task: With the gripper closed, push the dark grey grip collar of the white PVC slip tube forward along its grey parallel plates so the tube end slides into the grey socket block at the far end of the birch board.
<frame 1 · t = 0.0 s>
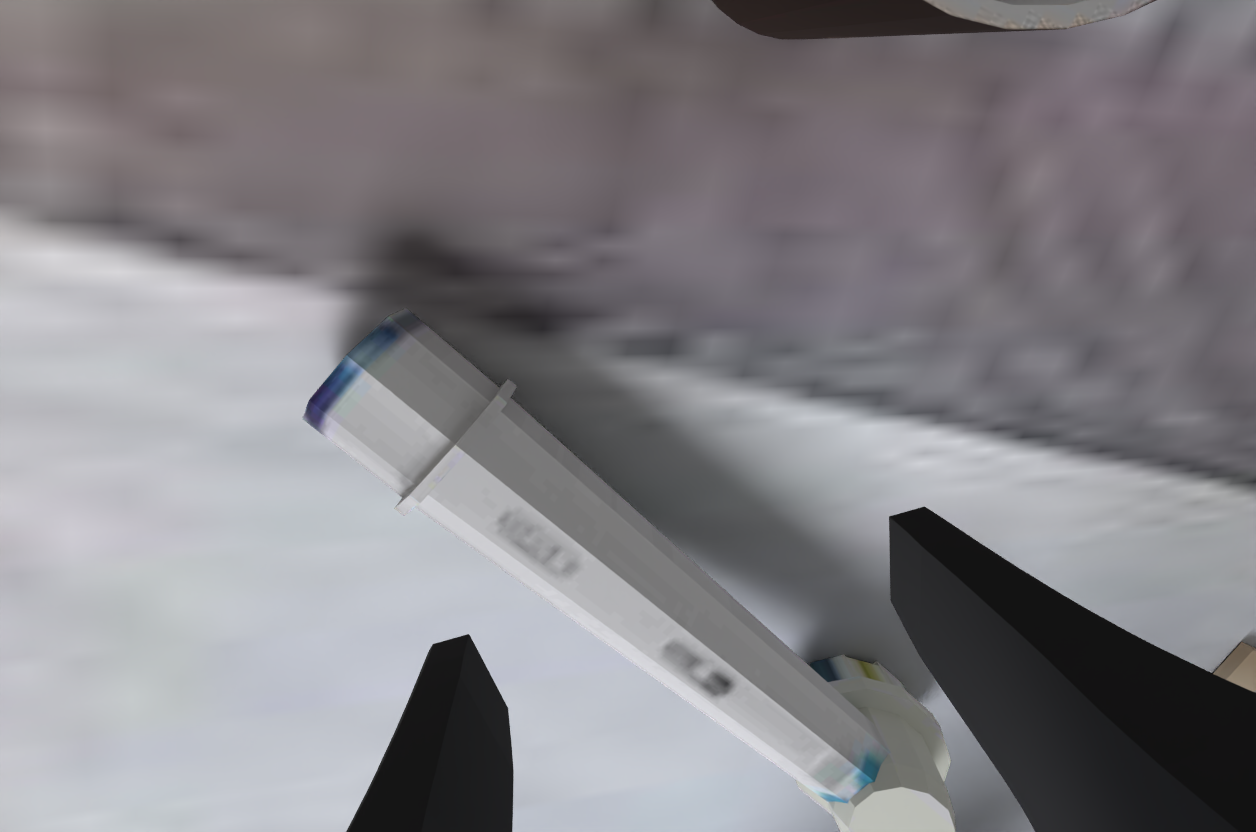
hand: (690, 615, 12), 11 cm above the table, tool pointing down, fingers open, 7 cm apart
grey capped rod: (668, 566, 24), on the table
board: (1179, 817, 32), on the table
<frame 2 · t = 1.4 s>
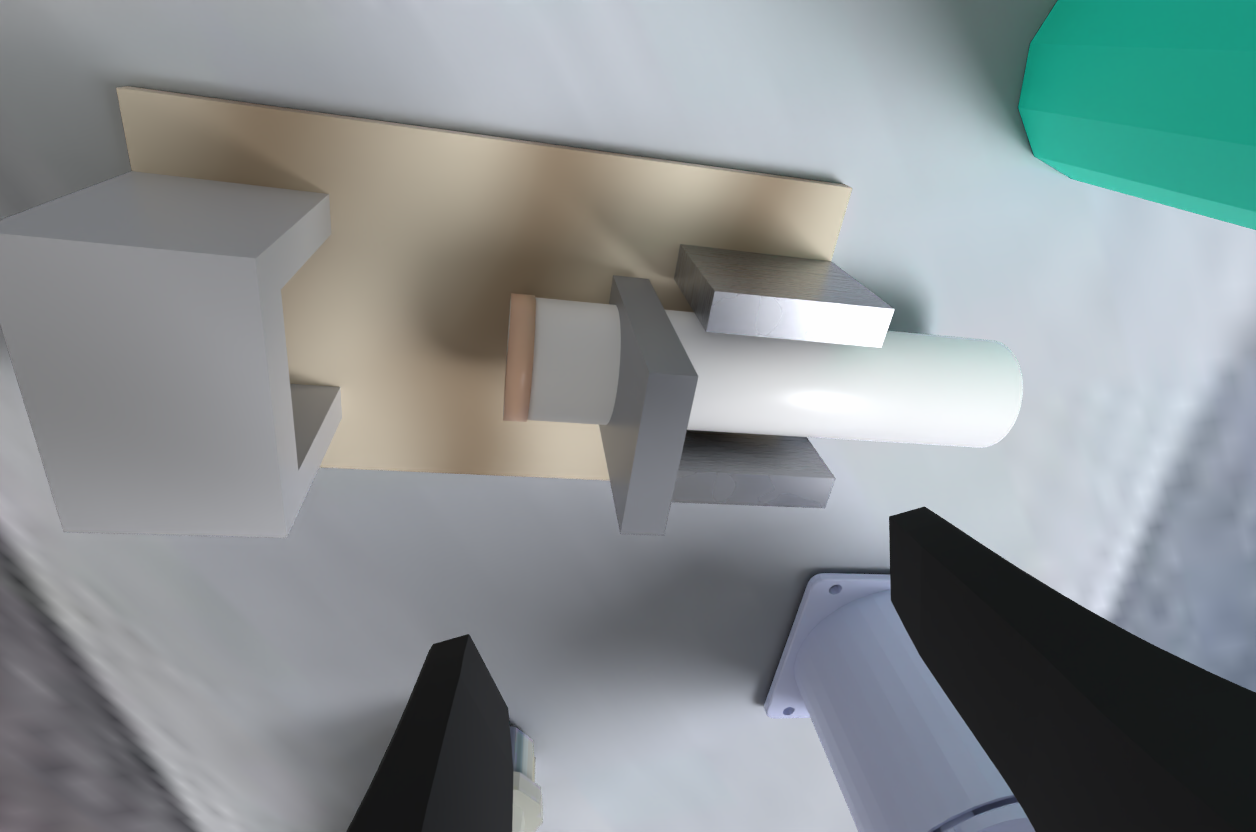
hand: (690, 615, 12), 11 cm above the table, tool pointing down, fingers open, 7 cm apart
slip tube: (778, 401, 18), point 4 cm above the table, slide at 0.0 cm
grey parallel plates: (729, 342, 21), resting on board
candle: (1118, 65, 19), on the table
socket: (254, 300, 19), resting on board
board: (508, 322, 20), on the table
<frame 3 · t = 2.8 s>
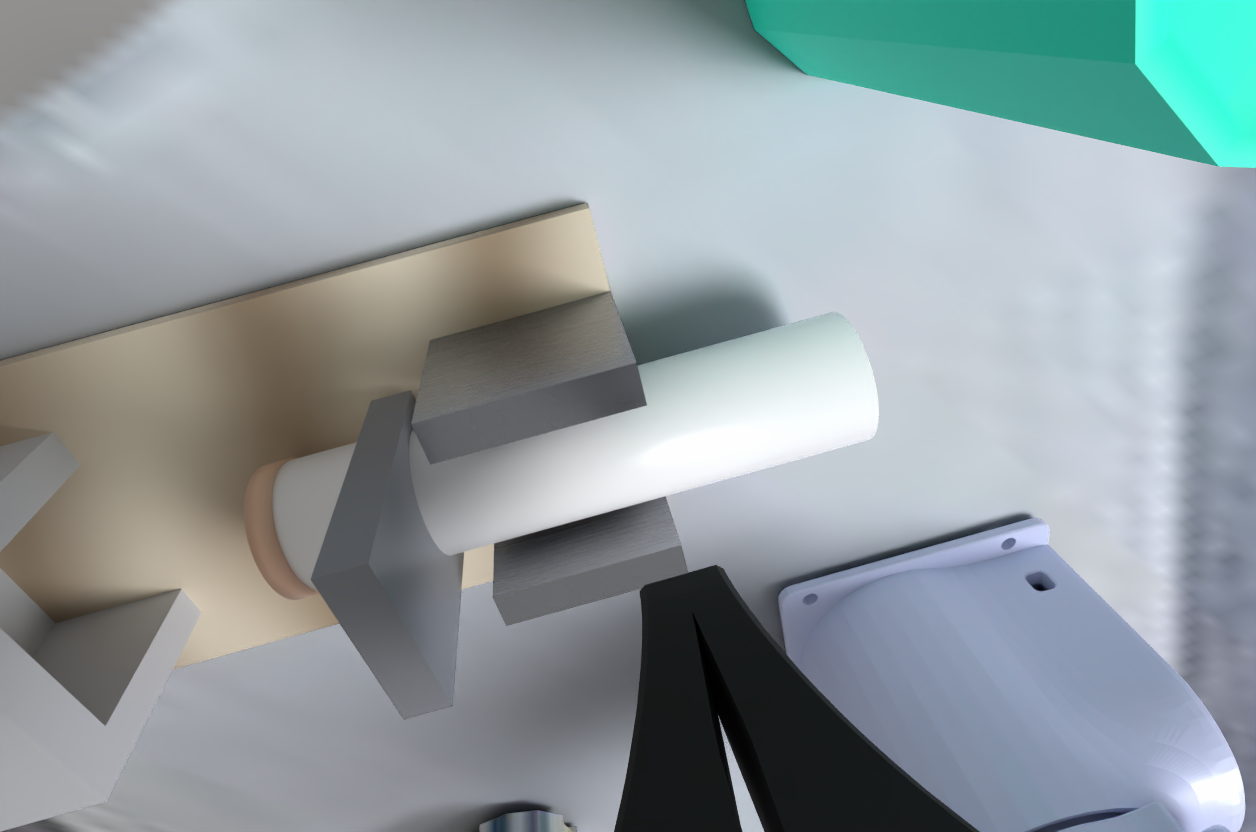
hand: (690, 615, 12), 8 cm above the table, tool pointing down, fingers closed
slip tube: (573, 490, 15), point 4 cm above the table, slide at 0.0 cm
grey parallel plates: (552, 406, 19), resting on board
socket: (62, 540, 18), resting on board
board: (310, 472, 18), on the table
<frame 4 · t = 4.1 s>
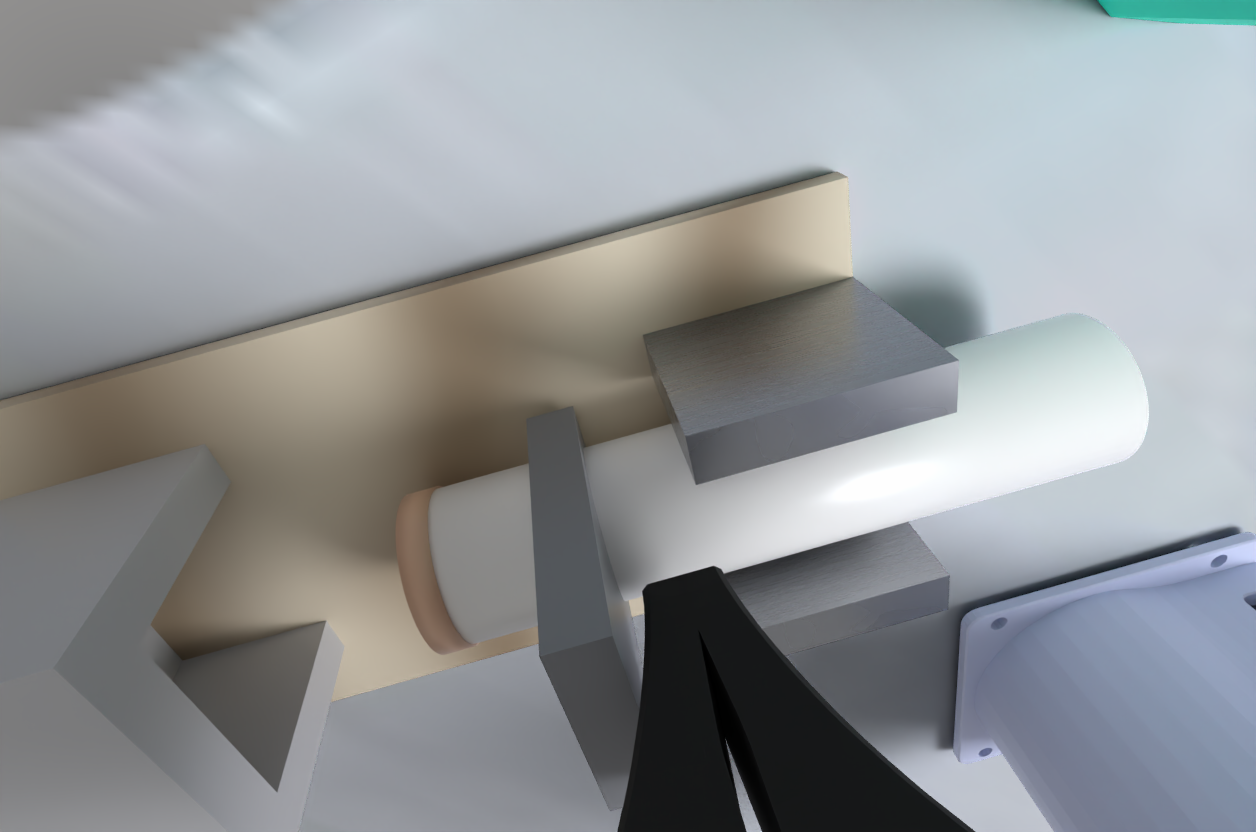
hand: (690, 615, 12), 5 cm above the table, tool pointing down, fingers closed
slip tube: (784, 526, 13), point 4 cm above the table, slide at 1.0 cm, touching gripper
grey parallel plates: (757, 411, 16), resting on board
socket: (196, 567, 16), resting on board
board: (479, 488, 16), on the table
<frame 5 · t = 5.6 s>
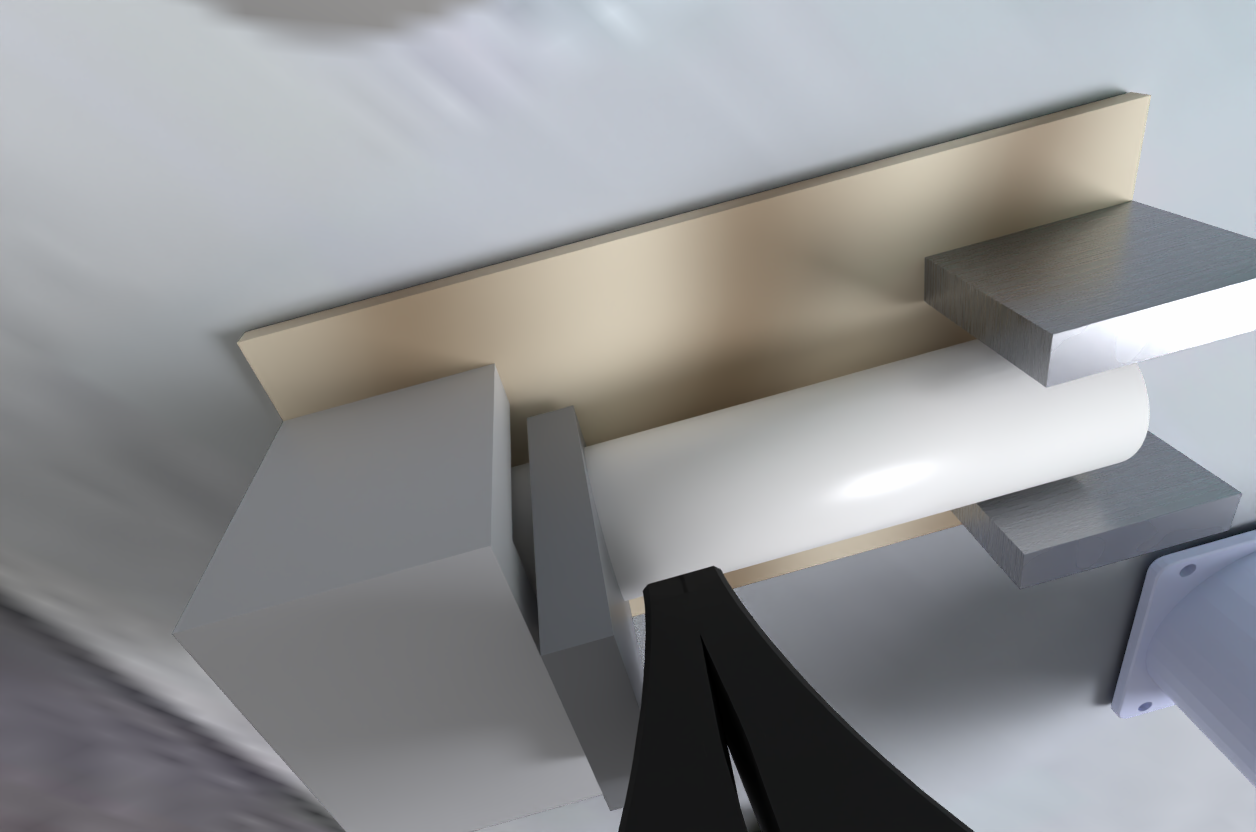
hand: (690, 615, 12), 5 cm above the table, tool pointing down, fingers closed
slip tube: (785, 526, 13), point 4 cm above the table, slide at 7.0 cm, touching gripper
grey parallel plates: (1003, 343, 16), resting on board
socket: (447, 496, 16), resting on board
board: (728, 419, 16), on the table
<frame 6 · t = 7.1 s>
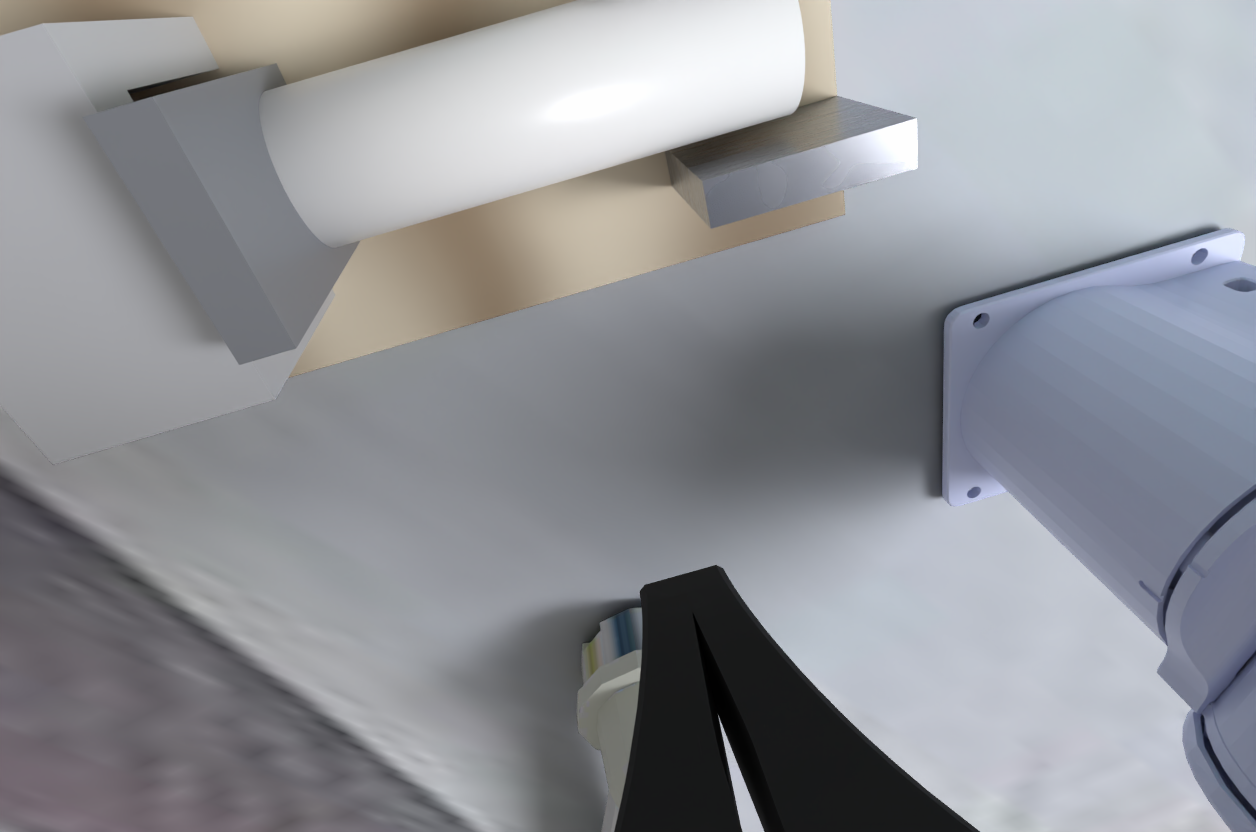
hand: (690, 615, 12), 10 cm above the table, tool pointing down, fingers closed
slip tube: (451, 140, 13), point 4 cm above the table, slide at 7.0 cm
grey parallel plates: (732, 33, 16), resting on board
socket: (189, 192, 16), resting on board
grey capped rod: (624, 781, 33), on the table
board: (462, 112, 16), on the table
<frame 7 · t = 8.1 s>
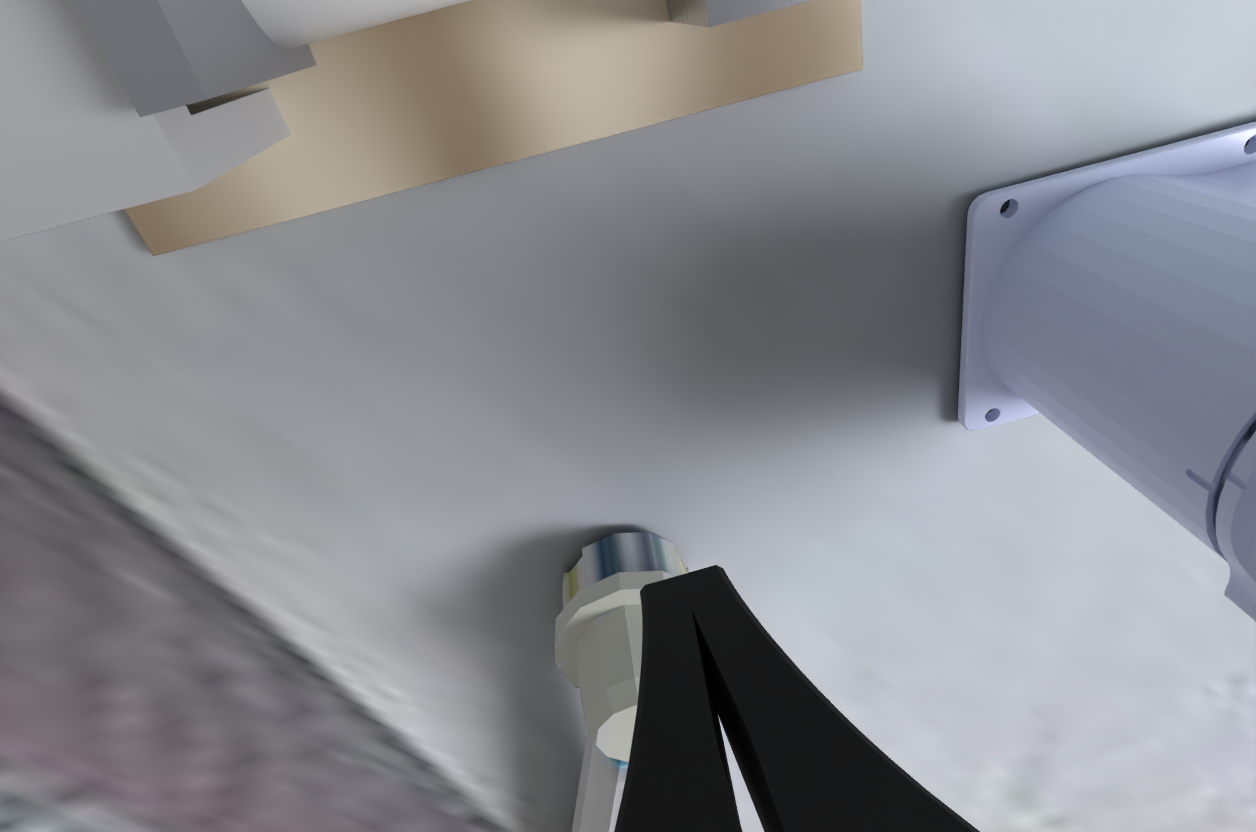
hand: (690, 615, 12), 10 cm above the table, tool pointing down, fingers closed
socket: (126, 1, 15), resting on board
grey capped rod: (607, 734, 31), on the table
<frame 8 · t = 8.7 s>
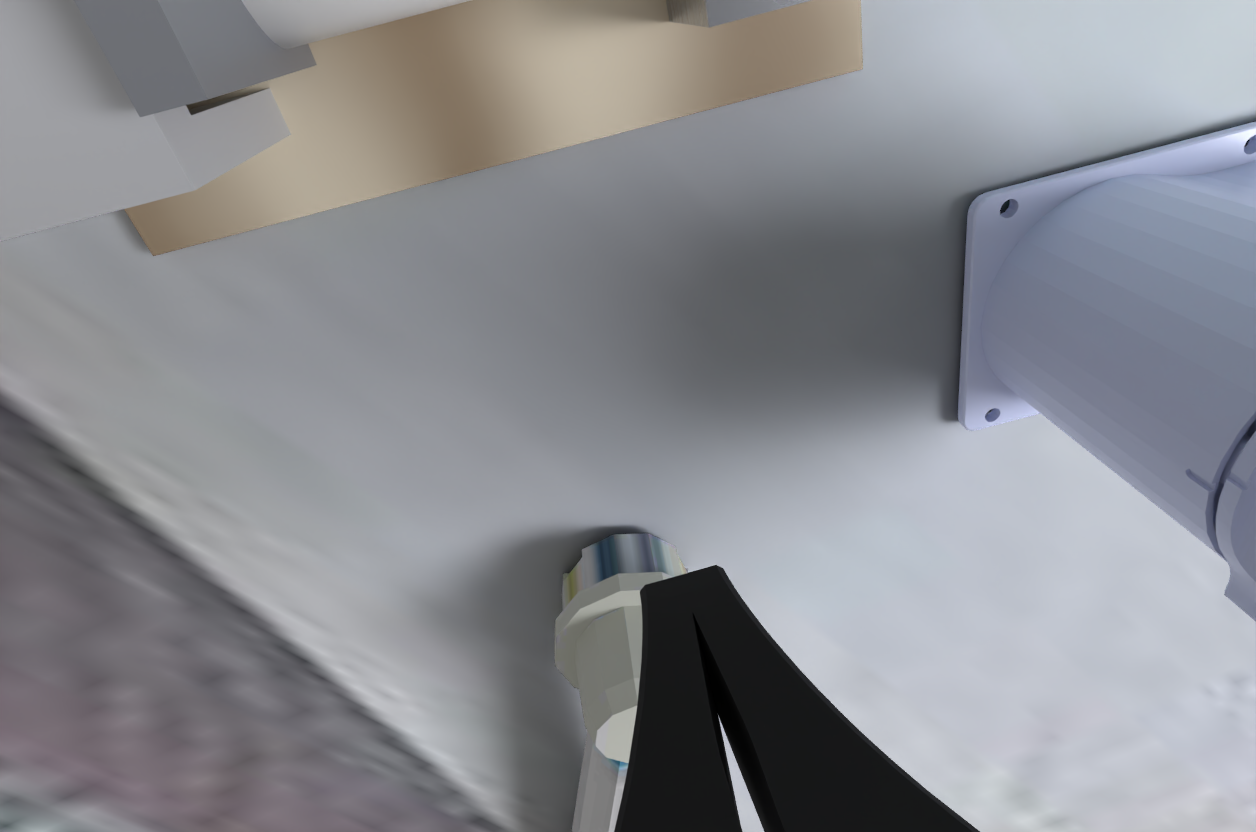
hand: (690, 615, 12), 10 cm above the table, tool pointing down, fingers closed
socket: (126, 1, 15), resting on board
grey capped rod: (607, 734, 31), on the table
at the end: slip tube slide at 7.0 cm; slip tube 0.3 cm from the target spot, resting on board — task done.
